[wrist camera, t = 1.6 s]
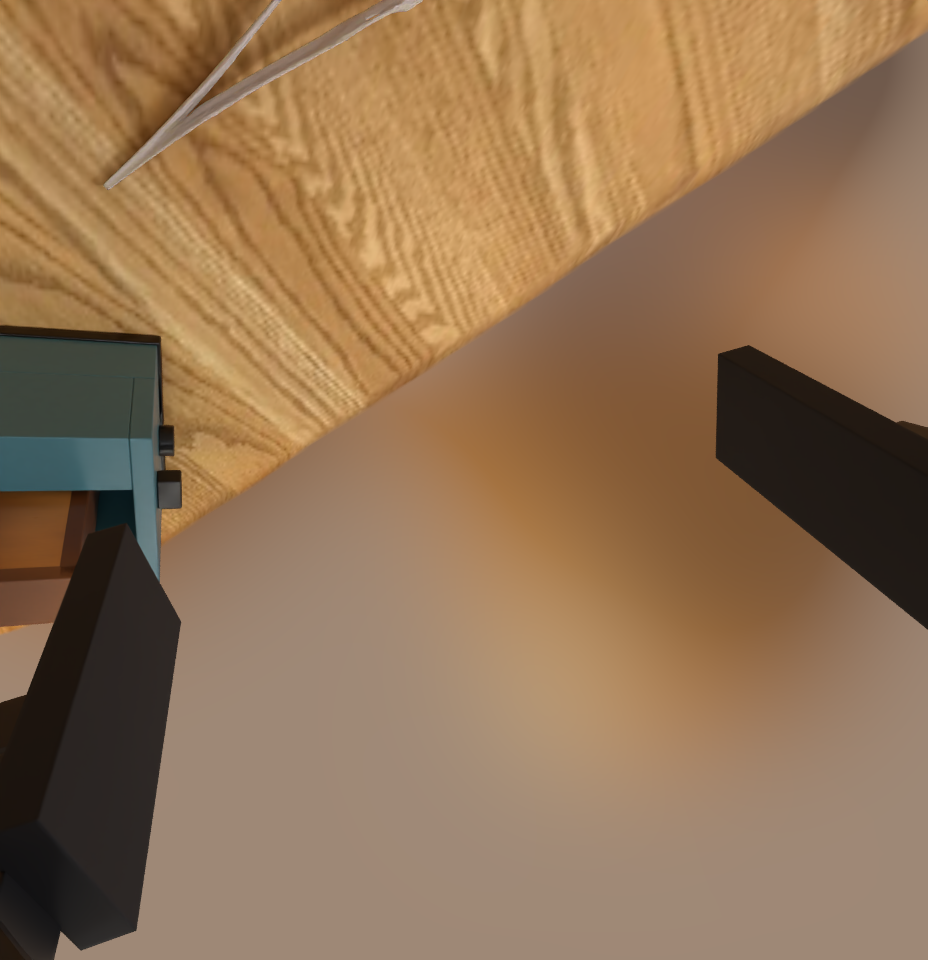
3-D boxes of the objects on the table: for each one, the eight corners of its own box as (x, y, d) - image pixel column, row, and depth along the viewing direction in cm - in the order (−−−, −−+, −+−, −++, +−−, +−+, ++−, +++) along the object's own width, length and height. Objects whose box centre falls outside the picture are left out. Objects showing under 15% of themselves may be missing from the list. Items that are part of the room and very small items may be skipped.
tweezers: (367, -136, 27) (375, -130, 26) (430, -16, 31) (440, -6, 29) (63, 133, 31) (56, 150, 30) (148, 213, 35) (145, 231, 33)
